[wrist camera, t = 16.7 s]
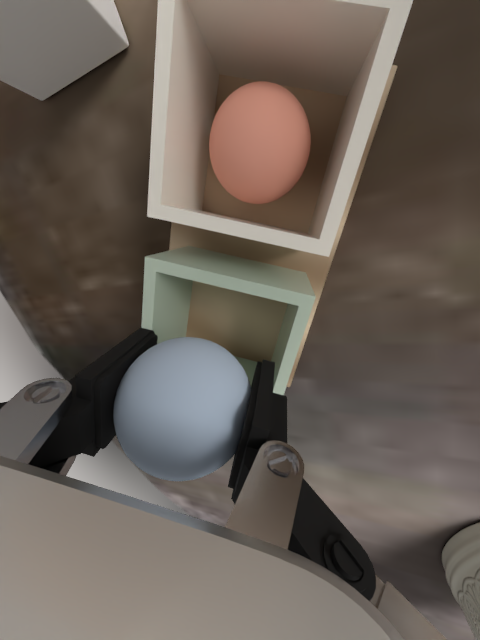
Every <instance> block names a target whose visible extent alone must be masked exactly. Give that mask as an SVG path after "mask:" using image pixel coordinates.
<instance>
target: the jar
mask: <svg viewBox="0 0 480 640" xmlns="http://www.w3.org/2000/svg"><path fill="white" fill-rule="evenodd" d="M442 564H443V567H444V570H445V574H446V579H447V582H448V585H449V586H450V588H451V591H452V594H453V596H454V598H455V599H456V601H457V602H458V604H459V605H460V607H461V609H462V611H463V613H464V615H465V617H466V620H467V622H468V624H469V626H470V628H471V631H472V633H473V635H474V637H475V639H476V640H480V522H479V523H476V524H474V525H471V526H469V527H467V528H465V529H463V530H461V531H459V532H458V533H457V534H455V535H454V536H453V537H452V538H451V539H450V540H449V541H448V542H447V543H446V545H445V547H444V549H443V551H442Z"/></svg>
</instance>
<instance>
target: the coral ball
mask: <svg viewBox="0 0 480 640" xmlns="http://www.w3.org/2000/svg"><path fill="white" fill-rule="evenodd" d="M310 145H311V134H310V127H309V123H308V119H307V116H306V113H305V111H304V109H303V107H302V105H301V104H300V102H299V101H298V100H297V98H296V97H295V96H294V95H293V94H292V93H291V92H290V91H289V90H287V89H286V88H284V87H282V86H280V85H278V84H276V83H271V82H266V81H258V82H252V83H249V84H246V85H244V86H242V87H240V88H238V89H237V90H235V91H234V92H233V93H231V94H230V95H229V96H228V97H227V98H226V100H225V101H224V102H223V103H222V105H221V106H220V108H219V109H218V111H217V113H216V115H215V118H214V120H213V123H212V127H211V131H210V138H209V152H210V159H211V163H212V167H213V170H214V172H215V175H216V177H217V178H218V180H219V182H220V183H221V185H222V186H223V187H224V188H225V189H226V191H227V192H229V193H230V194H231V195H232V196H234V197H235V198H237V199H239V200H241V201H243V202H247V203H252V204H264V203H269V202H272V201H275V200H277V199H279V198H281V197H282V196H284V195H285V194H286V193H288V192H289V191H290V190H291V189H292V188H293V187H294V186H295V185H296V183H297V182H298V181H299V179H300V177H301V176H302V174H303V172H304V170H305V167H306V164H307V161H308V158H309V153H310Z"/></svg>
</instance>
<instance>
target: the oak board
mask: <svg viewBox="0 0 480 640" xmlns="http://www.w3.org/2000/svg"><path fill="white" fill-rule="evenodd" d="M397 67H398V66H396V65H392V67H391V70H390V73H389V76H388V79H387V82H386V85H385V88H384V91H383V94H382V97H381V100H380V103H379V106H378V109H377V112H376V115H375V118H374V121H373V124H372V127H371V130H370V134H369V137H368V140H367V143H366V146H365V149H364V152H363V155H362V158H361V161H360V164H359V167H358V170H357V173H356V176H355V179H354V182H353V185H352V188H351V191H350V194H349V197H348V200H347V203H346V207H345V210H344V213H343V216H342V219H341V222H340V225H339V228H338V231H337V234H336V237H335V240H334V243H333V246H332V249H331V252H330V255H329V257H327V256H322V255H318V254H313V253H309V252H304V251H300V250H295V249H291V248H286V247H282V246H277V245H273V244H269V243H264V242H260V241H255V240H251V239H246V238H242V237H237V236H233V235H228V234H224V233H219V232H215V231H210V230H206V229H201V228H197V227H192V226H188V225H183V224H179V223H174V222H172V223H171V234H170V246H169V250H173V249H177V248H181V247H186V246H193V247H197V248H201V249H206V250H210V251H215V252H219V253H223V254H228V255H232V256H236V257H241V258H245V259H249V260H254V261H258V262H262V263H267V264H271V265H276V266H280V267H284V268H289V269H293V270H297V271H302V272H306V274H307V276H308V279H309V281H310V284H311V286H312V289H313V291H314V294H315V296H316V298H315V301H314V304H313V307H312V310H311V313H310V316H309V319H308V322H307V325H306V328H305V331H304V334H303V337H302V340H301V343H300V346H299V350H298V353H297V356H296V359H295V362H294V365H293V368H292V371H291V374H290V377H289V380H288V383H287V387H290V385H291V382H292V379H293V376H294V373H295V370H296V367H297V364H298V361H299V358H300V355H301V352H302V349H303V347H304V344H305V341H306V338H307V335H308V332H309V329H310V326H311V323H312V320H313V317H314V314H315V311H316V308H317V305H318V302H319V299H320V296H321V293H322V290H323V287H324V284H325V281H326V278H327V275H328V272H329V269H330V266H331V263H332V260H333V257H334V254H335V251H336V248H337V245H338V242H339V239H340V236H341V233H342V230H343V227H344V224H345V221H346V218H347V215H348V212H349V209H350V207H351V204H352V201H353V198H354V195H355V192H356V189H357V186H358V183H359V180H360V177H361V174H362V171H363V168H364V165H365V162H366V159H367V156H368V153H369V150H370V147H371V144H372V141H373V138H374V135H375V132H376V129H377V126H378V123H379V120H380V117H381V114H382V111H383V108H384V105H385V102H386V99H387V96H388V93H389V90H390V87H391V84H392V81H393V78H394V75H395V72H396V69H397ZM252 82H258V81H255V80H250V79H244V78H238V77H232V76H226V75H220V74H219V82H218V90H217V97H216V105H215V113H214V118H215V115H216V113H217V111H218V109H219V108H220V106H221V105H222V103H223V102H224V101H225V100H226V98H227V97H228V96H229V95H230V94H231V93H233V92H234V91H235V90H237V89H238V88H240V87H242V86H244V85H246V84H249V83H252ZM278 85H279V84H278ZM280 86H282V87H284V88H286V89H287V90H289V91H290V92H291V93H292V94H293V95H294V96H295V97H296V98H297V100H298V101H299V102H300V104H301V105H302V107H303V109H304V111H305V113H306V116H307V119H308V123H309V127H310V134H311V145H310V153H309V158H308V161H307V164H306V167H305V170H304V172H303V174H302V176H301V177H300V179H299V181H298V182H297V183H296V185H295V186H294V187H293V188H292V189H291V190H290V191H289V192H288V193H286V194H285V195H284V196H282V197H281V198H279V199H277V200H275V201H272V202H269V203H264V204H252V203H247V202H243V201H241V200H239V199H237V198H235V197H234V196H232V195H231V194H230V193H229V192H227V191H226V189H225V188H224V187H223V186H222V185H221V183H220V182H219V180H218V178H217V177H216V175H215V172H214V170H213V167H212V163H211V159H210V152H209V160H208V168H207V175H206V183H205V191H204V199H203V207H202V211H207V212H212V213H216V214H221V215H225V216H230V217H235V218H239V219H244V220H248V221H253V222H258V223H262V224H267V225H271V226H276V227H281V228H285V229H290V230H294V231H299V232H304V233H308V230H309V227H310V223H311V220H312V216H313V213H314V209H315V206H316V202H317V199H318V196H319V192H320V189H321V185H322V182H323V178H324V175H325V171H326V168H327V164H328V161H329V157H330V154H331V150H332V147H333V143H334V140H335V136H336V133H337V129H338V126H339V122H340V119H341V115H342V112H343V108H344V105H345V101H346V98H347V96H343V95H337V94H331V93H325V92H319V91H314V90H308V89H302V88H296V87H290V86H284V85H280ZM287 304H288V303H284V302H280V301H276V300H272V299H268V298H263V297H259V296H255V295H251V294H247V293H243V292H239V291H234V290H230V289H226V288H222V287H218V286H214V285H209V284H205V283H201V282H197V281H193V285H192V293H191V300H190V308H189V316H188V324H187V332H186V337H194V338H202V339H206V340H209V341H212V342H214V343H216V344H218V345H220V346H222V347H223V348H225V349H226V350H228V351H229V352H230V353H231V354H232V355H233V356H236V357H240V358H244V359H248V360H252V361H256V362H258V361H259V362H262V361H263V359H264V360H268V361H271V360H272V356H273V353H274V349H275V346H276V342H277V339H278V335H279V332H280V328H281V325H282V321H283V318H284V314H285V311H286V307H287Z"/></svg>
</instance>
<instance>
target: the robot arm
mask: <svg viewBox="0 0 480 640" xmlns="http://www.w3.org/2000/svg"><path fill="white" fill-rule="evenodd" d="M157 340H158V336H157V335H156V334H155V333H154V331H153V330H149V329H145V328H140V329H138V330H137V331H136V332H134V333H133V334H131V335H130V336H129V337H127V338H126V339H125V340H123V341H122V342H120V343H119V344H118V345H116V346H115V347H114V348H112V349H111V350H110V351H108V352H107V353H105V354H104V355H103V356H101V357H100V358H99V359H97V360H96V361H95V362H93V363H92V364H90V365H89V366H88V367H86V368H85V369H84V370H82V371H81V372H80V373H78V374H77V375H75V377H74V378H73V379H71V380H70V381H69V382H68V381H66V380H64V379H60V378H49V379H43V380H39V381H36V382H33V383H31V384H29V385H27V386H26V387H24V388H23V389H22V390H20V391H19V392H18V393H17V394H16V395H15V396H14V397H13V398H12V399H11V400H10V401H8V402H4V403H0V640H447V639H446V638H445V637H444V636H443V635H442V634H441V633H440V632H439V631H438V630H437V629H436V628H435V627H434V626H433V625H432V624H431V623H430V622H429V621H428V620H427V619H426V618H425V617H424V616H423V615H422V614H421V613H420V612H419V611H418V610H417V609H416V608H415V607H414V606H413V605H412V604H411V603H410V602H409V601H408V600H407V599H406V598H405V597H404V596H403V595H402V594H401V593H400V592H399V591H398V590H397V589H396V588H395V587H394V586H393V585H392V584H391V583H390V582H389V581H387V582H386V583H384V582H383V581H382V580H381V579H380V578H379V577H378V576H377V575H376V574H375V572H374V568H373V565H372V563H371V561H370V559H369V557H368V555H367V553H366V552H365V550H364V549H363V548H362V546H361V545H360V544H359V543H358V541H357V540H356V539H355V538H354V537H353V536H352V534H351V533H350V532H349V531H348V530H347V529H346V527H345V526H344V525H343V524H342V523H341V522H340V520H339V519H338V518H337V517H336V516H335V515H334V514H333V512H332V511H331V510H330V509H329V508H328V507H327V505H326V504H325V503H324V502H323V501H322V500H321V498H320V497H319V496H318V495H317V494H316V493H315V491H314V490H313V489H312V488H311V487H310V486H309V484H308V483H307V482H306V481H305V480H304V479H303V475H304V463H303V460H302V458H301V456H300V454H299V453H298V452H297V451H296V450H295V449H294V448H293V447H292V446H290V445H289V444H287V397H286V396H284V395H280V394H276V393H273V384H274V371H275V362H272V361H268V360H264V359H263V361H262V362H259V361H258V362H257V365H256V369H255V373H254V377H253V380H252V384H251V394H250V399H249V403H248V408H247V412H246V416H245V421H244V425H243V429H242V433H241V437H240V441H239V444H238V448H237V451H236V453H235V456H234V461H233V466H232V470H231V475H230V479H229V484H228V487H230V488H233V493H232V498H231V499H233V502H234V504H235V506H234V508H233V510H232V512H231V515H230V517H229V519H228V521H227V524H226V526H225V527H222V526H219V525H216V524H213V523H210V522H207V521H204V520H201V519H198V518H195V517H192V516H188V515H185V514H182V513H179V512H176V511H173V510H170V509H167V508H164V507H161V506H158V505H154V504H151V503H148V502H145V501H142V500H139V499H136V498H133V497H129V496H126V495H123V494H120V493H117V492H114V491H110V490H108V489H104V488H101V487H98V486H95V485H92V484H89V483H86V482H82V481H79V480H76V479H73V478H70V477H67V476H66V475H67V473H68V471H69V469H70V467H71V466H72V464H73V462H74V461H75V458H76V455H78V454H81V453H84V454H87V455H90V456H93V457H94V456H95V454H96V453H97V452H98V451H99V450H100V448H102V449H104V448H105V447H106V446H107V445H108V444H109V443H110V441H111V440H112V439H113V438H114V436H115V435H116V431H115V426H114V418H113V409H114V401H115V397H116V393H117V389H118V387H119V385H120V382H121V380H122V378H123V376H124V374H125V373H126V371H127V370H128V368H129V367H130V365H131V364H132V363H133V362H134V361H135V360H136V359H137V358H138V357H139V356H140V355H141V354H143V353H144V352H145V351H147V350H148V349H149V348H151V347H153V346H155V345H157Z"/></svg>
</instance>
